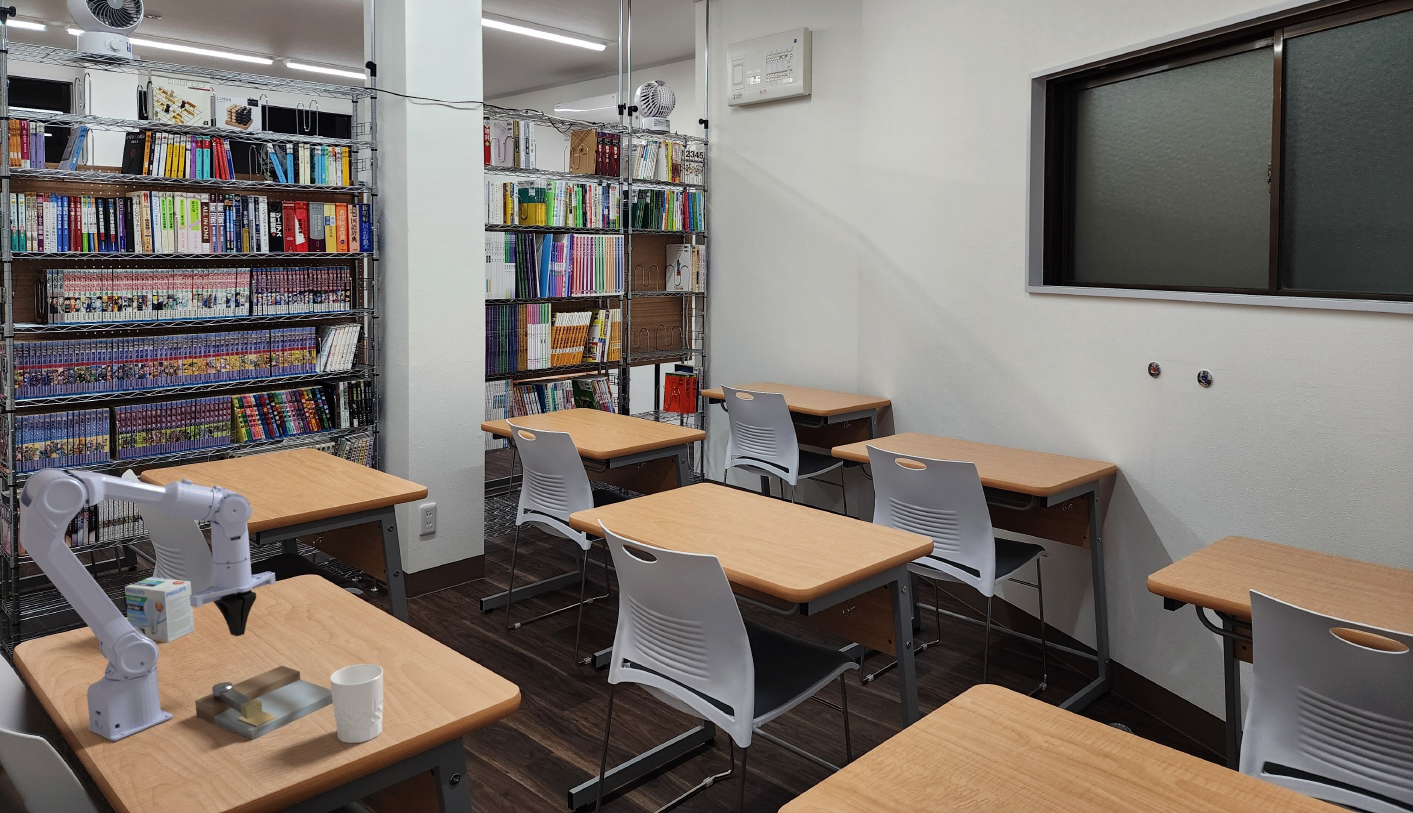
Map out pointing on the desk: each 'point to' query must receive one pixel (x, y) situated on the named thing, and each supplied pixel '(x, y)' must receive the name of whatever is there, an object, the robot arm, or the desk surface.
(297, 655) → the desk surface
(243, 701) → the latch bar
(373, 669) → the white cup
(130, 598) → the light bulb box
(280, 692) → the door board
